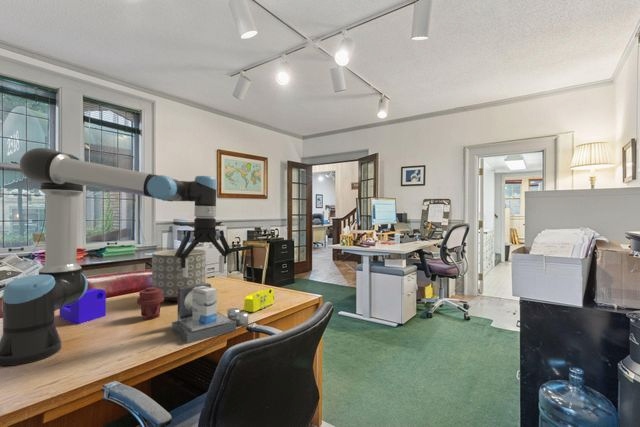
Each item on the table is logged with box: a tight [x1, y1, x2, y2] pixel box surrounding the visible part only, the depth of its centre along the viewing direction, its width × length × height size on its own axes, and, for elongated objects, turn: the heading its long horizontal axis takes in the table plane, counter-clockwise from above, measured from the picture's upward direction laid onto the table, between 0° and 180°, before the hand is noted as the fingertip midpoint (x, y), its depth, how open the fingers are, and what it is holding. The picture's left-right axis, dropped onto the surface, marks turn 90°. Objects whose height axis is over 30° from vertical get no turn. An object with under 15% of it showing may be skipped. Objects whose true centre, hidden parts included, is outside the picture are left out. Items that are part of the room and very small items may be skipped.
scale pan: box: [179, 312, 230, 332], centre depth 116 cm, size 14×13×1 cm
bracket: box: [59, 288, 107, 325], centre depth 130 cm, size 18×11×12 cm, turn 72°
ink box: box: [193, 286, 218, 323], centre depth 116 cm, size 8×5×12 cm, turn 55°
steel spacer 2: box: [235, 311, 249, 327], centre depth 124 cm, size 5×5×4 cm
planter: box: [151, 248, 207, 302], centre depth 160 cm, size 25×25×24 cm
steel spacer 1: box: [226, 307, 241, 321], centre depth 129 cm, size 5×5×4 cm
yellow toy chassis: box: [243, 287, 275, 313], centre depth 145 cm, size 16×6×8 cm, turn 153°
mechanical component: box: [136, 286, 165, 321], centre depth 130 cm, size 12×10×10 cm
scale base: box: [171, 282, 237, 344], centre depth 117 cm, size 18×19×15 cm
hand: (204, 274), depth 116 cm, fingers open, 13 cm apart
